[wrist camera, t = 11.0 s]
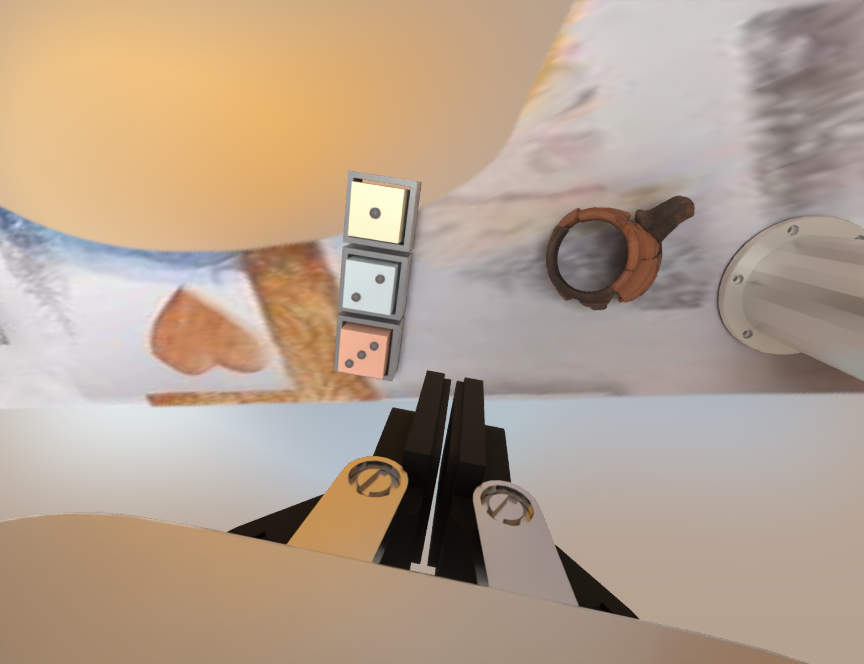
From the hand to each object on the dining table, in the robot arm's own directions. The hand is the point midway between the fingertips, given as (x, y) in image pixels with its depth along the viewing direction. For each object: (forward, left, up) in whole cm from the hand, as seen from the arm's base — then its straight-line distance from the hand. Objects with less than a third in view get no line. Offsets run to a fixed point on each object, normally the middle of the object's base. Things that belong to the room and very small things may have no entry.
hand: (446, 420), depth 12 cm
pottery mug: (-13, -4, -29) cm, 32 cm away
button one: (+8, -4, -28) cm, 29 cm away
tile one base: (+8, -4, -29) cm, 30 cm away
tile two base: (+8, +3, -29) cm, 30 cm away
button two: (+8, +3, -28) cm, 29 cm away
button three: (+8, +9, -28) cm, 31 cm away
